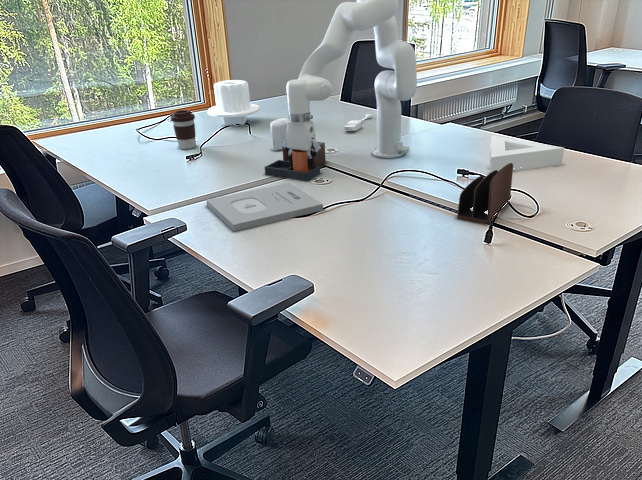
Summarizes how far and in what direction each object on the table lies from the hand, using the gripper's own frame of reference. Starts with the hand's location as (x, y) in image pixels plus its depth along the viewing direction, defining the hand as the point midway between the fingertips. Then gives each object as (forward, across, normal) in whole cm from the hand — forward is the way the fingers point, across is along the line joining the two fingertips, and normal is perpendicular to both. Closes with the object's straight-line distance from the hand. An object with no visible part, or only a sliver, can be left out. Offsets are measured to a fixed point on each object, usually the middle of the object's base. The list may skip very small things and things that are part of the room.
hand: (302, 166), depth 213 cm
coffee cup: (+4, +66, -12) cm, 68 cm away
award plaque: (+4, -6, +33) cm, 33 cm away
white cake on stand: (+4, +73, -55) cm, 92 cm away
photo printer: (+4, +26, -27) cm, 38 cm away
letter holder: (+4, -70, +6) cm, 70 cm away
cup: (+3, 0, 0) cm, 3 cm away
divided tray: (+3, +4, 0) cm, 6 cm away
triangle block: (+3, -65, -41) cm, 77 cm away
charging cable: (+4, +14, -74) cm, 76 cm away
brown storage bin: (+3, +6, -12) cm, 14 cm away
